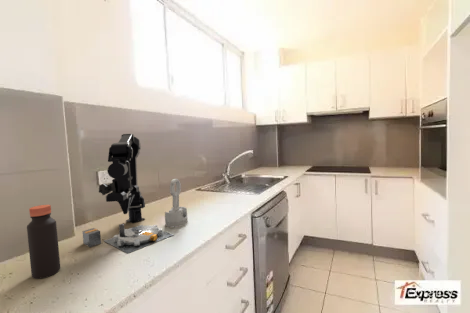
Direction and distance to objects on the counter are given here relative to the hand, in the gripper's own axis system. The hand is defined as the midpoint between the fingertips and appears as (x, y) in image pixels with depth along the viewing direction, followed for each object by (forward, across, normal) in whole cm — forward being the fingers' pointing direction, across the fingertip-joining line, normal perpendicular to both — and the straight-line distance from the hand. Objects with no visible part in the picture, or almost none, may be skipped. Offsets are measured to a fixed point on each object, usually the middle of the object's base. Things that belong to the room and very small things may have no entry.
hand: (125, 213), depth 97 cm
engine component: (+10, -14, +18) cm, 24 cm away
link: (+10, +4, -12) cm, 16 cm away
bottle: (+10, +25, -14) cm, 30 cm away
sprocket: (+10, +2, +5) cm, 11 cm away
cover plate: (+10, +2, +5) cm, 11 cm away
